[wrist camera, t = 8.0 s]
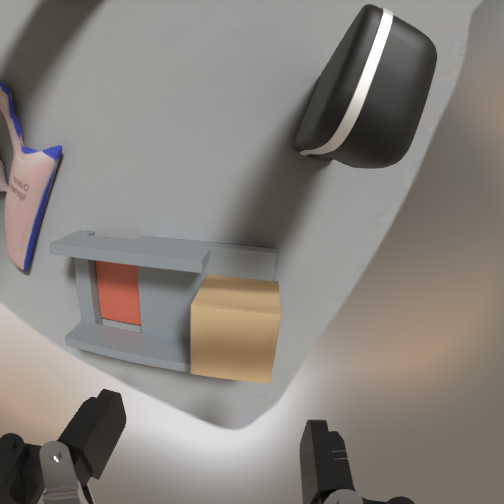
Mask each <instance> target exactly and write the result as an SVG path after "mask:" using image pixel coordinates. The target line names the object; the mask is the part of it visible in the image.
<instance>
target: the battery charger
mask: <svg viewBox="0 0 504 504" xmlns="http://www.w3.org/2000/svg"><path fill="white" fill-rule="evenodd" d="M436 61H437V52H436V48H435V46H434V44H433V43H432V41H431V40H430V39H429V37H427V36H426V35H425V34H424V33H422V32H421V31H420V30H418V29H416V28H415V27H413V26H412V25H410V24H408V23H406V22H405V21H403V20H401V19H399V18H398V17H396V16H394V15H393V13H392V12H391V11H389V10H387V9H385V8H379V7H377V6H374V5H372V4H367V5H365V6H364V7H363V8H362V9H361V11H360V12H359V13H358V15H357V16H356V18H355V20H354V21H353V23H352V24H351V26H350V27H349V29H348V30H347V32H346V34H345V35H344V37H343V39H342V40H341V42H340V43H339V45H338V47H337V48H336V50H335V52H334V53H333V55H332V57H331V59H330V60H329V62H328V63H327V65H326V67H325V68H324V70H323V71H322V74H321V76H320V79H319V81H318V83H317V86H316V88H315V91H314V93H313V95H312V98H311V100H310V103H309V105H308V107H307V110H306V112H305V115H304V117H303V120H302V122H301V124H300V127H299V129H298V132H297V134H296V137H295V139H294V141H293V145H292V147H293V149H294V150H296V151H298V152H300V154H302V155H304V156H306V155H307V156H310V157H312V158H314V159H319V160H332V159H335V160H337V161H339V162H341V163H343V164H346V165H348V166H351V167H354V168H385V167H388V166H390V165H393V164H396V163H397V162H398V161H400V160H401V159H402V158H403V156H404V155H405V154H406V153H407V151H408V149H409V147H410V146H411V143H412V141H413V138H414V135H415V133H416V130H417V127H418V124H419V121H420V118H421V115H422V112H423V109H424V106H425V103H426V100H427V96H428V93H429V90H430V86H431V82H432V79H433V75H434V71H435V67H436Z"/></svg>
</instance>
